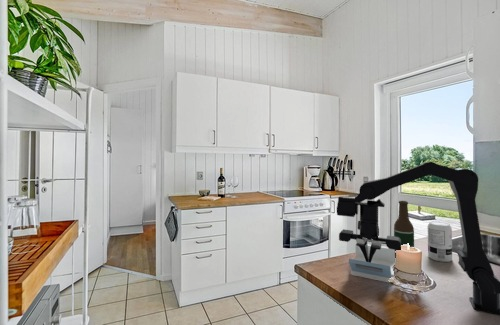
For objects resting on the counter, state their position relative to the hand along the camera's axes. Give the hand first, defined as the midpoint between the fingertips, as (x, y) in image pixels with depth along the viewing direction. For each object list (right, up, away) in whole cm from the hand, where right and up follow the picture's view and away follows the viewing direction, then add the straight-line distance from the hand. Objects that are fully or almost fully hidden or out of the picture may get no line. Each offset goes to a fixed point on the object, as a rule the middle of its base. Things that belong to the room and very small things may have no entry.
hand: (368, 263), depth 86 cm
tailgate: (+2, -5, +3) cm, 6 cm away
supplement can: (+40, -6, +21) cm, 46 cm away
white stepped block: (+7, -7, +10) cm, 14 cm away
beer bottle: (+28, -7, +26) cm, 39 cm away
